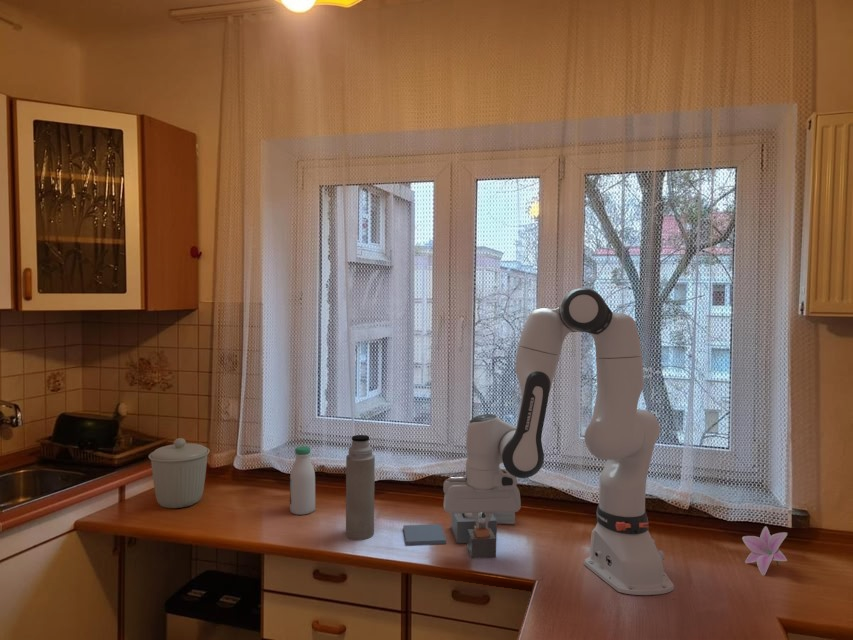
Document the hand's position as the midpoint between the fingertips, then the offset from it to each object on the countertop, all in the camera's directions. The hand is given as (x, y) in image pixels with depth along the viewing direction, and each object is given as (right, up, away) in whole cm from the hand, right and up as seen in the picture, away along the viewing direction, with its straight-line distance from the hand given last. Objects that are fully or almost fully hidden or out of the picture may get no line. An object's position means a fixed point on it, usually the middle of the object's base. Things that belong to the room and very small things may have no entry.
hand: (481, 528), depth 149 cm
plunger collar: (0, -7, 0) cm, 6 cm away
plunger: (0, -6, 0) cm, 6 cm away
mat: (-15, -6, +10) cm, 19 cm away
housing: (-1, -6, +12) cm, 13 cm away
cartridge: (-1, -6, +12) cm, 13 cm away
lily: (+71, -8, -6) cm, 72 cm away
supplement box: (+9, -6, +23) cm, 25 cm away
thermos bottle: (-33, -6, +11) cm, 36 cm away
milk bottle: (-53, -5, +28) cm, 61 cm away
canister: (-94, -4, +33) cm, 100 cm away
